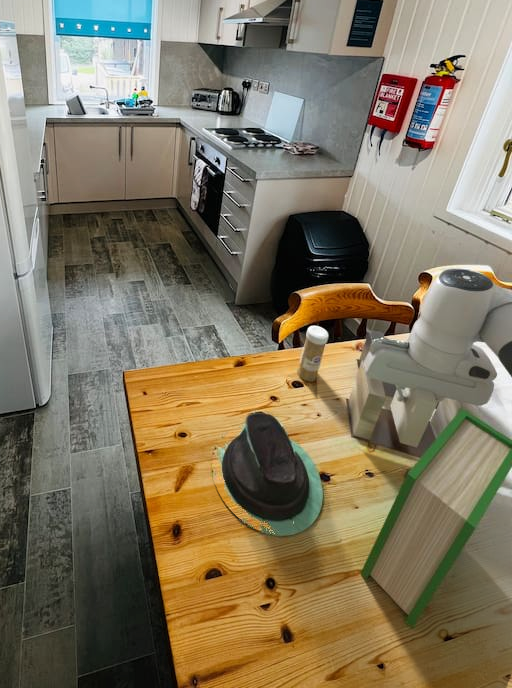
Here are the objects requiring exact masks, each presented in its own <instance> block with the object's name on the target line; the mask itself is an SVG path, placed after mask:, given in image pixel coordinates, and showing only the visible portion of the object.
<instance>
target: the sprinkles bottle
mask: <svg viewBox="0 0 512 688" xmlns="http://www.w3.org/2000/svg"><path fill="white" fill-rule="evenodd" d="M305 337H306V338H305V340H304V345H303V348H302V351H301V354H300V359H299V365H298V368H297V370H296V372H297V375H298V377H299V378H300V379H302V380H303V381H305V382H309V383H310V382H311V383H312V382H315V381H316V380H317V376H318V373H319V369H320V366H321V364H322V359H323V355H324V351H325V348H326V344H327V343H328V340H329V332H328V331H327V330H326V329H325V328H323V327H321V326H319V325H310V326H309V327H308V328H307V330H306V334H305Z"/></svg>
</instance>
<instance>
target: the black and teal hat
mask: <svg viewBox="0 0 512 688" xmlns="http://www.w3.org/2000/svg"><path fill="white" fill-rule="evenodd" d="M244 423H245V425H240V426H241V427H242V428H243V429H242V428H241V429H242V432H239V434H240V435H239V436H237V437H236V438H235V439H233V440H232V441H231V442H229V443H230V444H228V445H227V444H225V445H226V446H225V447H226V448H227V449H226V450H224V449H223V450H222V448H221V447H218V446H217V447H218V450H219V451H220V452H219V453H220V455H219V454H218V455H219V456H220V457H221V459H220V458H219V457H218V456H217V454H216V453H215V454H216V457H217V458H219V459H220V460H219V461H220V462H221V465H222V473H223V478H224V480H225V481H224V482H225V486H226V487H225V488H224V490H225V489H227V491H228V492H229V493H228V494H229V495H230V496H231V498H232V499H231V501H232V500H234V502H236V504H239V505H238V506H241V507H242V509H244V510H246V512H247V513H248V514H249V515H251V517H254V518H256V519H258V520H259V521H262V522H263V523H264V521H265V523H268V524H267V525H269V526H271V527H270V529H271V530H273V531H274V533H275V534H274V533H272V532H273V531H270V532H271V534H272V535H271V534H270V532H269V530H270V529H268V528H267V531H266V527H265V528H264V526H261V525H260V526H261V528H262V530H261V532H260V533H263V534H267V535H270V536H275V537H283V536H294V535H297V534H300V533H302V532H303V531H305V530H306V529H308V528H310V527H311V526H312V525H313V523H314V522H315V521H316V519H317V518H318V517H319V514H320V512H321V510H322V505H323V499H324V489H323V485H322V480H321V477H320V474H319V470H318V469H317V466H316V464H315V462H314V461H313V459H312V458H311V457H310V456H309V454H308V453H307V452H306V451H305V450H304V449H303V448H302V447H301V445H300V444H298V443H297V442H295V441H294V440H292V439H291V438H290V437H289V434H288V433H287V430H286V428H285V426H284V425H283V424H282V423H281V421H280V420H279V419H278V418H276V417H275V416H274V415H272V414H270V413H264V412H258V411H255V410H254V411H253V412H252V413H251V414H248V415H246V416H245V421H244ZM226 433H227V432H225V433H224V434H222V436H223V437H224V435H225V434H226ZM227 442H228V441H227ZM216 452H217V451H216ZM222 457H223V458H222ZM214 473H215V474H214V475H216V472H214ZM219 473H221V472H219ZM227 491H226V492H227ZM240 518H241V517H240ZM242 519H243V518H242ZM242 519H241V520H242ZM244 519H245V518H244ZM241 520H240V521H241ZM243 521H244V520H243ZM243 521H241V522H242V523H243V524H245V522H246V520H245V521H244V522H243ZM293 521H294V524H293ZM262 522H261V523H262ZM247 523H249V522H247ZM249 525H250V524H249ZM249 525H247V526H249ZM262 525H263V524H262ZM251 526H252V524H251V525H250V526H249V527H250V528H252V527H251ZM269 526H268V527H269ZM253 527H254V526H253ZM262 531H263V532H262ZM264 532H265V533H264Z"/></svg>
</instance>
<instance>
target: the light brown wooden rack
mask: <svg viewBox="0 0 512 688" xmlns="http://www.w3.org/2000/svg"><path fill="white" fill-rule="evenodd" d="M386 400H387V396H386V395H385V392H384V388H383V384H382V381H378V380H374V379H371V378H369V377H368V375H367V374H366V372H365V368H364V360H362V361H361V364H360V367H359V370H358V371H357V374H356V376H355V379H354V383H353V386H352V389H351V392H350V395H349V397H348V398H347V397H345V404H346V411H347V418H348V425H349V431H350V437H351V438H353V439H356V440H360V441H363V442H367V443H368V444H373V445H377V446H378V447H379V446H380V447H383V448H385V449H390V450H393V451H397V452H399V453H403V454H406V455H410V456H413V457H417V458H419V459H420V458H421V457H422V456H423V454H424V453H425V452H426V451H427V450H428V448H429V447H430V446H431V445H432V444H433V442H434V441H435V440H436V439H437V438H438V436H439V435H440V434H441V433H442V432H443V430H444V429H445V428H446V427H447V426H448V424H449V423H450V422H451V421H452V420H453V418H454V417H455V416H456V415H457V414H458V412H459V411H460V410H461V409H464V410H466V411H467V412H469V413H470V414H472V415H473V416H475V417H477V418H478V419H480V420H481V421H483V422H485V420H484V418H483V416H482V414H481V412H480V409H479V408H478V406H476V405H473V404H469V403H465V402H461V401H457V400H453V399H449V398H444V400H443V401H441V402H439V404H438V407H437V409H435V410H434V412H433V414H432V416H431V418H430V421H429V423H428V425H427V427H426V429H425V431H424V434H423V436H422V438H421V440H420V442H419V444H418V446H417V447H413V446H410V445H406V444H403V443H400V441H399V437H398V434H397V430H396V426H395V422H394V418H393V414H392V411H391V409H387V408H384V405H385V402H386Z"/></svg>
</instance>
